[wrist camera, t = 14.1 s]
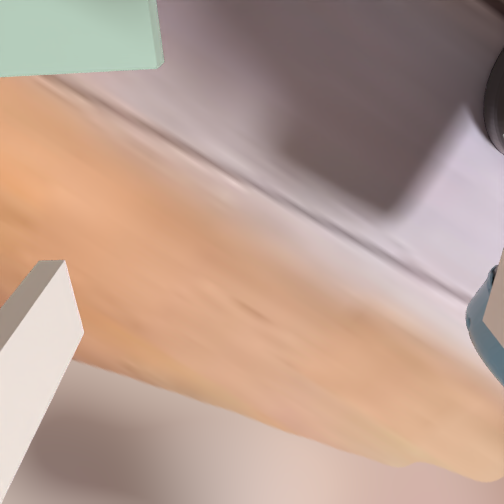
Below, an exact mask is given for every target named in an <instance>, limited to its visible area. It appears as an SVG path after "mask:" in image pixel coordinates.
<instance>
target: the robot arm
mask: <svg viewBox="0 0 504 504" xmlns="http://www.w3.org/2000/svg"><path fill="white" fill-rule="evenodd" d="M484 120H485V125H486V129H487V132H488V135H489V137H490V139H491V141H492V142H493V144H494V145H495V147H496V148H497V149H498V150H499V151H500V152H501V153H502V154H503V155H504V49H503V51H502V52H501V54H500V56H499V57H498V59H497V61H496V63H495V65H494V67H493V69H492V72H491V74H490V77H489V80H488V83H487V87H486V91H485V97H484ZM466 326H467V329H468V331H469V336H470V339H471V341H472V343H473V345H474V347H475V349H476V351H477V352H478V354H479V356H480V357H481V359H482V360H483V362H484V363H485V365H486V366H487V367H488V369H489V370H490V371H491V372H492V374H493V375H494V376H495V377H496V378H497V380H498V381H499V382H500V383H501V384H502V385H503V386H504V249H503V252H502V255H501V259H500V262H499V265H495V266H494V267H493V268H492V269H491V270H490V272H489V274H488V278H487V280H486V281H485V282H484V284H483V285H482V286H481V288H480V289H479V290H478V292H477V293H476V294H475V296H474V297H473V298H472V300H471V301H470V303H469V304H468V307H467V310H466ZM83 334H84V330H83V326H82V322H81V319H80V315H79V311H78V307H77V304H76V300H75V296H74V292H73V288H72V285H71V281H70V277H69V273H68V270H67V266H66V262H65V260H45V261H38V263H37V264H36V265H35V266H34V268H33V269H32V270H31V271H30V273H29V274H28V275H27V276H26V278H25V279H24V280H23V281H22V283H21V284H20V285H19V286H18V287H17V289H16V290H15V291H14V292H13V294H12V295H11V296H10V297H9V299H8V300H7V301H6V302H5V304H4V305H3V306H2V307H1V309H0V504H1V503H2V501H3V498H4V496H5V494H6V492H7V490H8V488H9V486H10V484H11V482H12V480H13V478H14V476H15V474H16V472H17V470H18V468H19V466H20V464H21V461H22V459H23V457H24V455H25V453H26V451H27V449H28V447H29V445H30V443H31V441H32V438H33V436H34V435H35V433H36V431H37V429H38V427H39V425H40V423H41V420H42V418H43V416H44V414H45V412H46V410H47V408H48V406H49V404H50V402H51V400H52V398H53V396H54V394H55V391H56V390H57V388H58V385H59V383H60V381H61V379H62V377H63V375H64V373H65V371H66V369H67V367H68V365H69V363H70V361H71V359H72V357H73V355H74V353H75V351H76V349H77V346H78V344H79V342H80V340H81V338H82V336H83Z"/></svg>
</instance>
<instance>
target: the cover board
mask: <svg viewBox="0 0 504 504" xmlns="http://www.w3.org/2000/svg"><path fill="white" fill-rule="evenodd" d="M163 63H164V56H163V48H162V41H161V33H160V25H159V18H158V10H157V3H156V0H0V77H12V76H30V75H49V74H68V73H87V72H105V71H124V70H143V69H158V68H159V67H160V66H161V65H162V64H163Z"/></svg>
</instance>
